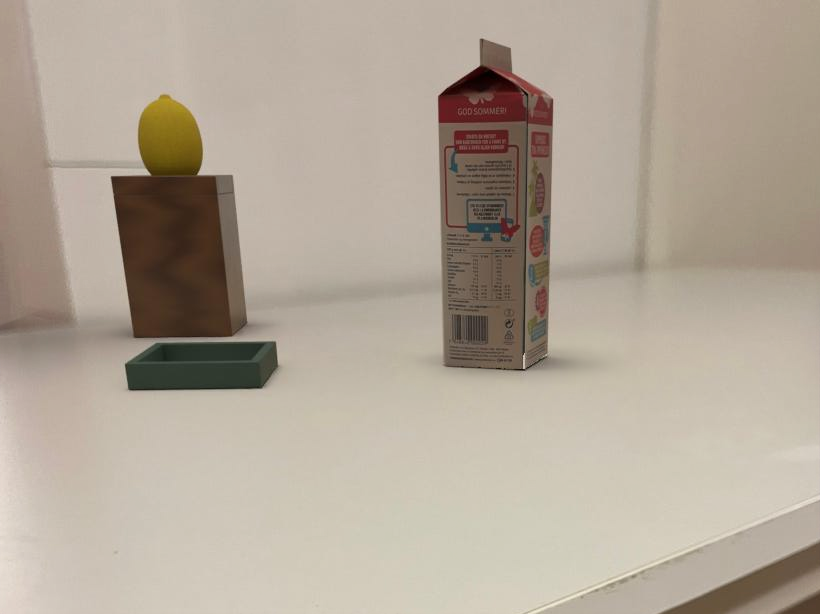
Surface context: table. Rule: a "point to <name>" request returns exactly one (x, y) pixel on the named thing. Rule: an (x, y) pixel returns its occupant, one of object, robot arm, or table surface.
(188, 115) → the lemon
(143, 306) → the brown upright box
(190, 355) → the low tray
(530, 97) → the juice carton
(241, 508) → the table surface
